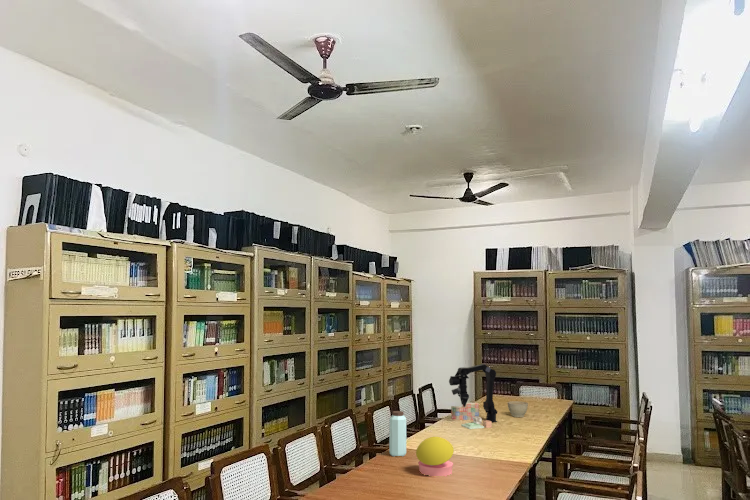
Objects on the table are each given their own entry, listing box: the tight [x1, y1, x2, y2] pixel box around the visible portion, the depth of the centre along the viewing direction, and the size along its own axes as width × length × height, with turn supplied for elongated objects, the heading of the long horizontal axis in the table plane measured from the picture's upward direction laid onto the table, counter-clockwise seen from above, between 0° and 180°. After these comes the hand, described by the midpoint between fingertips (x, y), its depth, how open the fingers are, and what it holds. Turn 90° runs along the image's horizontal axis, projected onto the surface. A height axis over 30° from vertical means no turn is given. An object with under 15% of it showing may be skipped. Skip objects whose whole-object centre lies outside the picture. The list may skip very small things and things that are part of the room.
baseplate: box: [461, 422, 485, 430], centre depth 423 cm, size 12×12×2 cm
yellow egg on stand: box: [415, 436, 455, 477], centre depth 306 cm, size 20×18×20 cm
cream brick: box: [472, 416, 483, 425], centre depth 436 cm, size 4×4×4 cm
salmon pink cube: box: [482, 420, 493, 429], centre depth 423 cm, size 4×4×4 cm
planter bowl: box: [507, 400, 529, 418], centre depth 466 cm, size 16×16×11 cm
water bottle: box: [388, 410, 407, 457], centre depth 342 cm, size 10×10×25 cm
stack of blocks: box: [450, 402, 480, 421], centre depth 454 cm, size 21×6×12 cm, turn 85°
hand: (463, 405), depth 435 cm, fingers open, 9 cm apart
